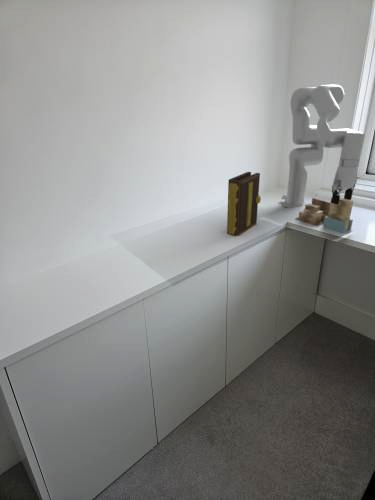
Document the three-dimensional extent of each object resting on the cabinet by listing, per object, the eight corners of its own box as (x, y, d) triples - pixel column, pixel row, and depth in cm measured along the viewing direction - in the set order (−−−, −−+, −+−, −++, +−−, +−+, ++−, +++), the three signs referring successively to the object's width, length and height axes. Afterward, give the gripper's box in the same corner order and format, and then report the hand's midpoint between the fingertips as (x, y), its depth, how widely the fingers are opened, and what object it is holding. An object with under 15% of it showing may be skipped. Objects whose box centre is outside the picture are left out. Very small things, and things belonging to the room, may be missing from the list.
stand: (320, 229, 152) (322, 217, 149) (332, 225, 156) (334, 213, 154) (340, 236, 144) (343, 223, 142) (351, 231, 149) (354, 219, 146)
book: (239, 237, 146) (242, 182, 136) (223, 233, 151) (224, 180, 140) (261, 222, 162) (265, 172, 151) (245, 219, 167) (248, 170, 156)
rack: (293, 220, 163) (296, 203, 159) (311, 214, 170) (313, 197, 166) (316, 228, 153) (319, 210, 149) (333, 221, 160) (337, 203, 156)
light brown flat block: (326, 226, 153) (331, 197, 147) (329, 225, 154) (334, 196, 148) (344, 232, 146) (350, 202, 140) (347, 230, 147) (353, 200, 141)
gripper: (351, 158, 144) (344, 195, 152) (328, 164, 135) (322, 203, 143) (368, 161, 139) (359, 199, 146) (345, 167, 130) (337, 207, 138)
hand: (341, 201), depth 145 cm, fingers open, 9 cm apart
